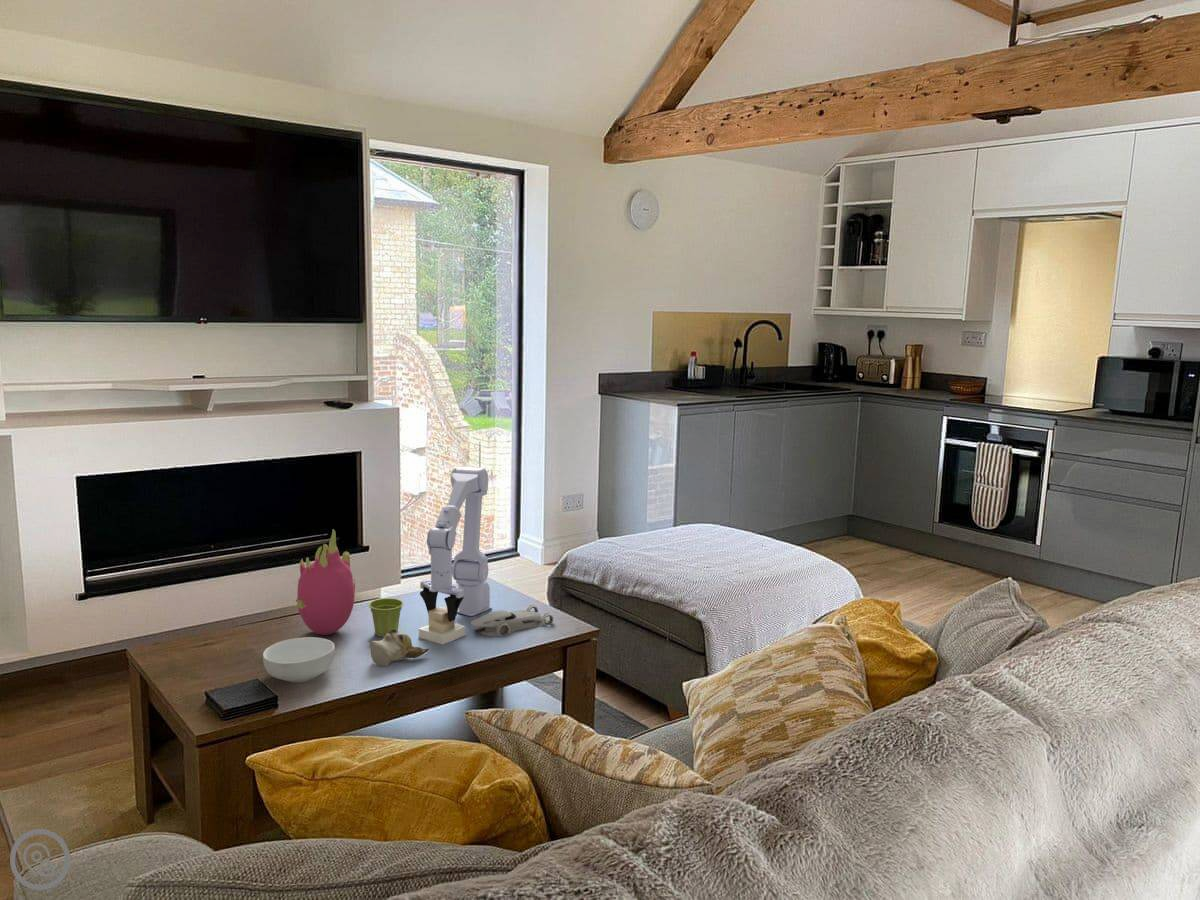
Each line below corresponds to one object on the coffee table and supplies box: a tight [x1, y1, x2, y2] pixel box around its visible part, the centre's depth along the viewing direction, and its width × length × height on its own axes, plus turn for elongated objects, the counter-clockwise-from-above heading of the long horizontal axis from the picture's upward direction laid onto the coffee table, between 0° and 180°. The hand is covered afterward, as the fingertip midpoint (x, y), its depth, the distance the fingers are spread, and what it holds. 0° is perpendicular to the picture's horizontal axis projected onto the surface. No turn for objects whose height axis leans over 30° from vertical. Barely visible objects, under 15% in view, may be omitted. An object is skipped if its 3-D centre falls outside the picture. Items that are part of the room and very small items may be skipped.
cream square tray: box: [418, 623, 466, 645], centre depth 249 cm, size 9×9×3 cm
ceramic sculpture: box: [369, 630, 430, 668], centre depth 232 cm, size 11×9×15 cm
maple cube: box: [428, 605, 456, 632], centre depth 249 cm, size 5×5×5 cm
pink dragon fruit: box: [295, 528, 356, 636], centre depth 248 cm, size 18×14×30 cm
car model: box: [470, 604, 554, 637], centre depth 258 cm, size 11×24×5 cm, turn 125°
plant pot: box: [368, 597, 404, 638], centre depth 250 cm, size 9×9×9 cm
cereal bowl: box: [262, 636, 336, 683], centre depth 221 cm, size 17×17×7 cm
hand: (441, 617), depth 249 cm, fingers open, 7 cm apart
